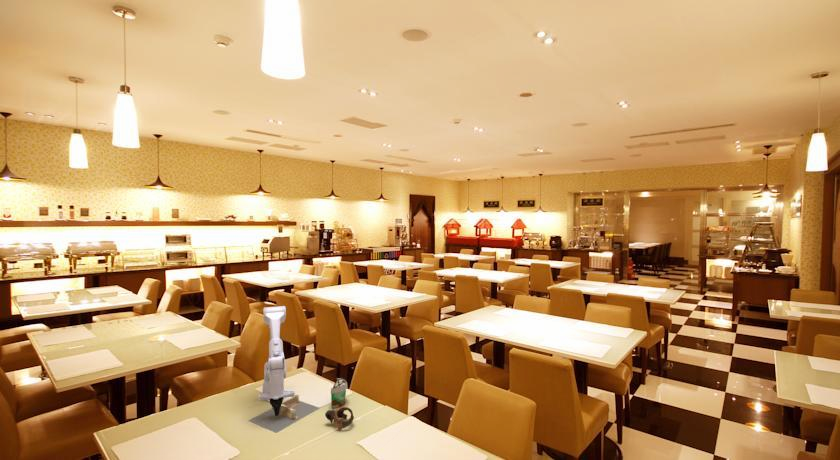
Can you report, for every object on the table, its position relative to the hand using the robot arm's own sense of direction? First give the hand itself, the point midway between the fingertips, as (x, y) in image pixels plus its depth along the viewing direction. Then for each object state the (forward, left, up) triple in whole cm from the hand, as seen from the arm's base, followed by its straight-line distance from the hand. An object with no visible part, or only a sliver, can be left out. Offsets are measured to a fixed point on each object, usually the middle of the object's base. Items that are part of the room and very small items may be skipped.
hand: (277, 414), depth 173 cm
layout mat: (+1, +4, -2) cm, 4 cm away
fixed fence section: (-2, +8, -1) cm, 9 cm away
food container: (+15, +24, -2) cm, 28 cm away
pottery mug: (+26, +10, -2) cm, 28 cm away
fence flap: (+3, +3, -1) cm, 5 cm away
